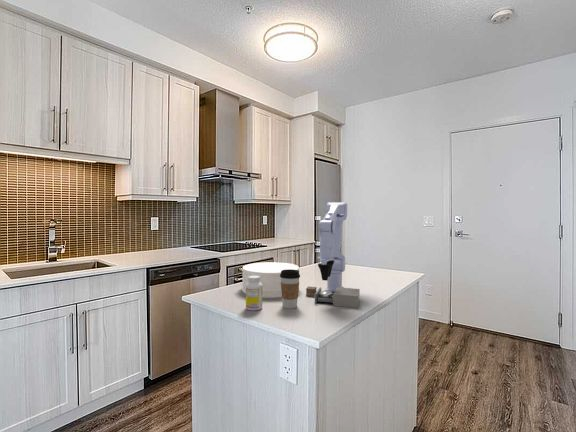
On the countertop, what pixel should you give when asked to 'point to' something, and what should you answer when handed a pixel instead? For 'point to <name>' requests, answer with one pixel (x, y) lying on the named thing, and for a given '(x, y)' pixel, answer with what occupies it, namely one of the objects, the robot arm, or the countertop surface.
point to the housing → (346, 297)
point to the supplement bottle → (253, 293)
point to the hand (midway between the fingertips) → (326, 278)
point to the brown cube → (310, 291)
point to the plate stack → (267, 276)
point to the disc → (325, 294)
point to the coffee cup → (289, 287)
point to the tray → (322, 298)
